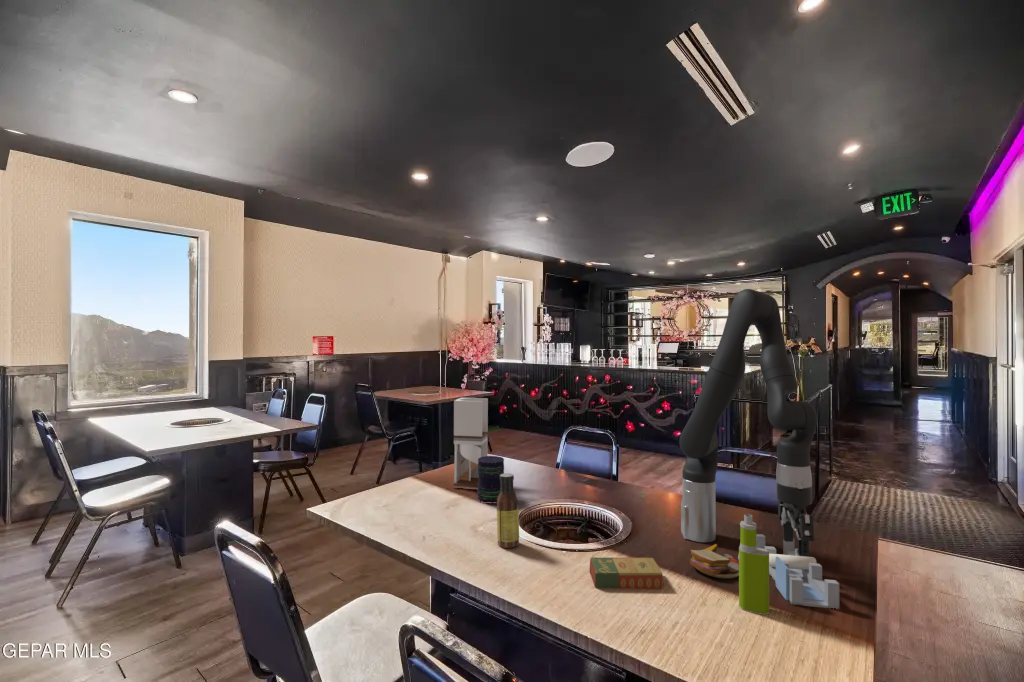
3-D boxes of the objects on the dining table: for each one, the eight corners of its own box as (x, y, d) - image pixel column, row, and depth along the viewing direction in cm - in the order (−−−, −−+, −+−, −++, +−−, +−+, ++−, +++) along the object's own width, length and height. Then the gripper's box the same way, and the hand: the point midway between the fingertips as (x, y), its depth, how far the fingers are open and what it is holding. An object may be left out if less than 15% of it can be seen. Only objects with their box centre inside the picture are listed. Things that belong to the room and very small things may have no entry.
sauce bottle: (523, 544, 133) (523, 475, 134) (508, 551, 129) (508, 479, 129) (507, 537, 138) (507, 470, 138) (492, 544, 133) (492, 474, 133)
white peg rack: (788, 604, 103) (788, 572, 103) (752, 553, 128) (752, 528, 128) (839, 609, 101) (839, 576, 101) (792, 557, 126) (792, 531, 126)
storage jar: (503, 504, 167) (503, 462, 167) (476, 503, 167) (476, 462, 168) (504, 495, 177) (504, 456, 177) (478, 495, 177) (478, 455, 178)
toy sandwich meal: (755, 576, 116) (755, 557, 116) (710, 584, 112) (710, 564, 112) (719, 555, 128) (719, 537, 128) (677, 561, 124) (677, 543, 124)
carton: (663, 590, 109) (663, 572, 109) (594, 590, 109) (594, 572, 109) (653, 573, 117) (653, 556, 117) (589, 572, 118) (589, 555, 118)
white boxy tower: (453, 488, 185) (454, 400, 185) (460, 481, 196) (461, 397, 196) (481, 490, 183) (481, 401, 184) (487, 482, 194) (487, 398, 194)
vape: (737, 600, 104) (737, 511, 105) (768, 606, 102) (768, 515, 102) (738, 609, 101) (738, 516, 101) (770, 615, 99) (770, 521, 99)
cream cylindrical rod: (772, 569, 114) (772, 556, 114) (767, 563, 117) (767, 551, 117) (817, 573, 112) (817, 560, 112) (811, 567, 115) (811, 555, 115)
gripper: (766, 474, 123) (768, 536, 122) (789, 490, 109) (791, 560, 108) (797, 475, 122) (799, 537, 121) (824, 491, 107) (826, 562, 107)
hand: (795, 548), depth 115 cm, fingers open, 8 cm apart
